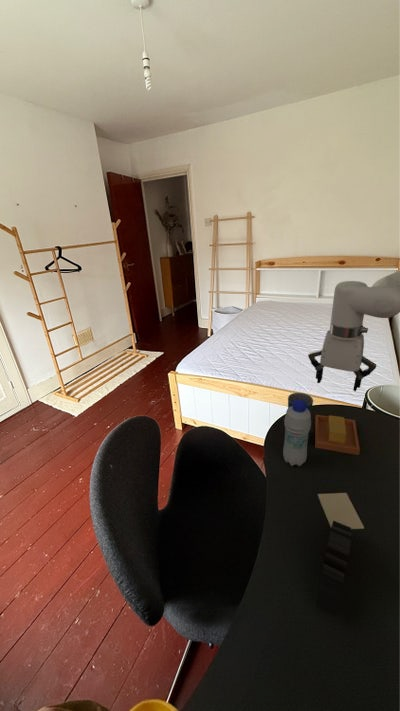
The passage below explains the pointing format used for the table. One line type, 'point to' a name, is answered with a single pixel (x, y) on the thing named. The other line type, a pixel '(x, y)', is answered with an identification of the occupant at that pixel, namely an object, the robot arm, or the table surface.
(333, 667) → the table surface
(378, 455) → the table surface
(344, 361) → the robot arm
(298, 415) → the bottle
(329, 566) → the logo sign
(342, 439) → the yellow block
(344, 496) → the cloth
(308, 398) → the cup
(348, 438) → the brown wooden tray
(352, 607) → the table surface
